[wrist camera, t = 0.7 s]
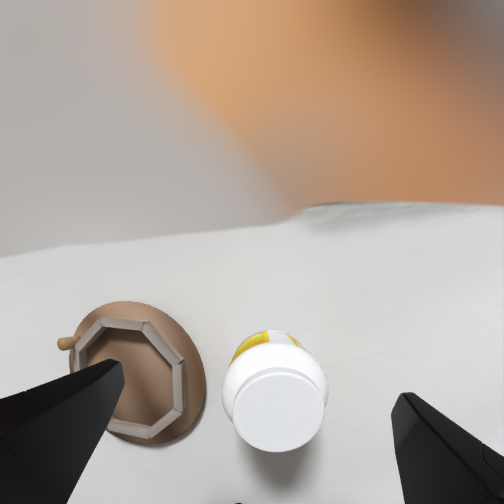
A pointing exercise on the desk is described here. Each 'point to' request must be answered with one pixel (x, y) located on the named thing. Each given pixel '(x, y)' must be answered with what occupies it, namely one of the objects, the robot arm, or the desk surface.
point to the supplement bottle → (274, 392)
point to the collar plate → (143, 369)
